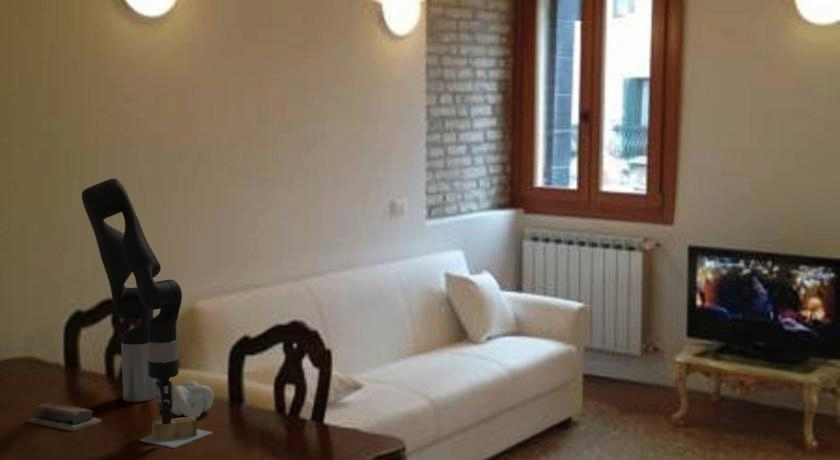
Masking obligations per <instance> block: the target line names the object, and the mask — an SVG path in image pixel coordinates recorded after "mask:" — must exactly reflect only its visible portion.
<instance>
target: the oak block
mask: <svg viewBox="0 0 840 460" xmlns="http://www.w3.org/2000/svg"><path fill="white" fill-rule="evenodd" d="M197 429H198V428H197V418H195V416H194V417H186V416H184V417H176V418H171V423H170V424H163V423H162V419H155V420H151V435H152V437H153V440H160V439H169V438H179V437H188V436H197Z"/></svg>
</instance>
